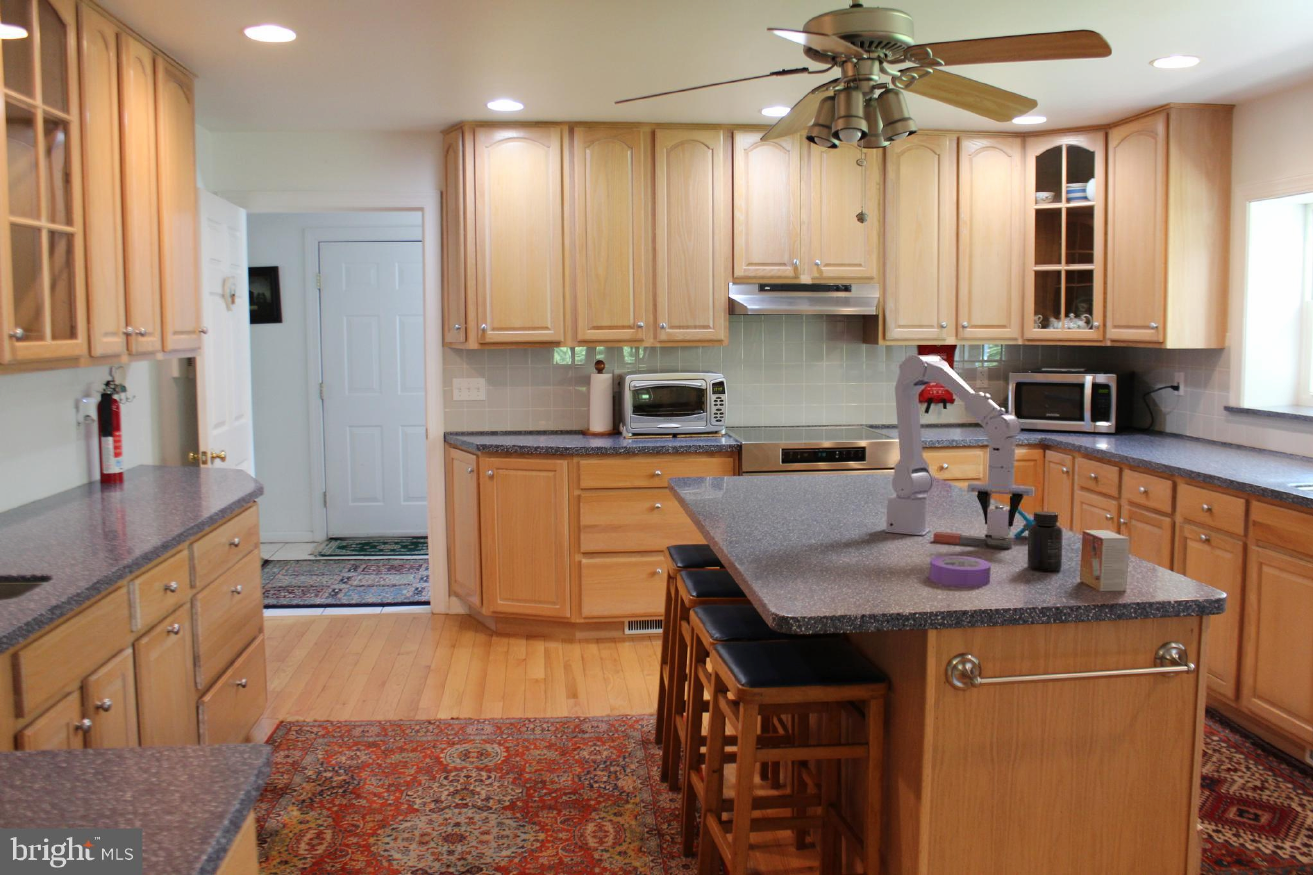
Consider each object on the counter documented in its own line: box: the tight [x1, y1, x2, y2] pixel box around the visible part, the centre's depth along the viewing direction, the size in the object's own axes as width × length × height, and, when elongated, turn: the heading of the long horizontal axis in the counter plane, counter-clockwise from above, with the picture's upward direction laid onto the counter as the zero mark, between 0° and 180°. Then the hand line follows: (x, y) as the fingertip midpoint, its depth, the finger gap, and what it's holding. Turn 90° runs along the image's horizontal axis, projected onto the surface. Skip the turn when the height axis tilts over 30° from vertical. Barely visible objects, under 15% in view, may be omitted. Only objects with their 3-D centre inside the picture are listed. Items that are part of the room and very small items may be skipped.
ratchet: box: [932, 531, 1013, 551], centre depth 236 cm, size 18×6×5 cm, turn 63°
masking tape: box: [929, 555, 992, 588], centre depth 203 cm, size 12×12×4 cm
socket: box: [986, 504, 1012, 537], centre depth 233 cm, size 5×5×6 cm
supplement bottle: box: [1026, 510, 1064, 573], centre depth 212 cm, size 7×7×12 cm
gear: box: [1013, 507, 1035, 539], centre depth 244 cm, size 11×6×10 cm
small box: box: [1079, 529, 1131, 592], centre depth 198 cm, size 8×6×10 cm
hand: (999, 524), depth 234 cm, fingers closed on socket, 5 cm apart
